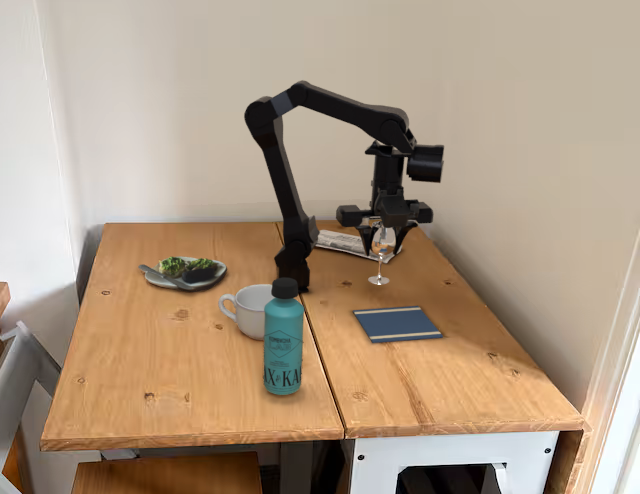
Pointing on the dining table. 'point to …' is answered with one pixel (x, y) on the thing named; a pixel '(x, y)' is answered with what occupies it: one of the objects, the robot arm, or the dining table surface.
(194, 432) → the dining table surface
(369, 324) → the napkin
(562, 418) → the dining table surface
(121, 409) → the dining table surface
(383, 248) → the wineglass
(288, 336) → the beverage bottle
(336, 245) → the newspaper
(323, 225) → the dining table surface
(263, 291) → the teacup
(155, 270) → the salad plate
